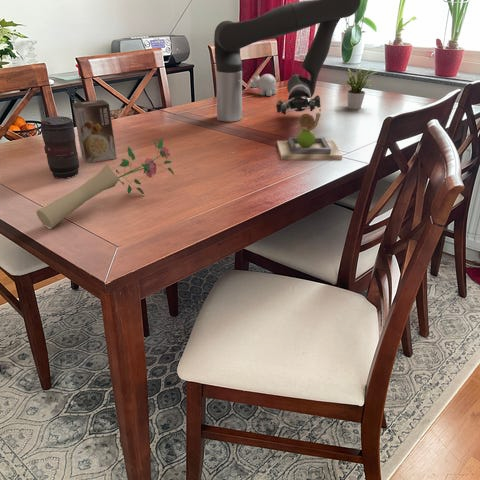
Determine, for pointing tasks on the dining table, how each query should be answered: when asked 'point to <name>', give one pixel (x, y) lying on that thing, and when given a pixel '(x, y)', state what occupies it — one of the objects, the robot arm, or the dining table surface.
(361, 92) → the house plant
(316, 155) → the board
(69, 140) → the camera lens
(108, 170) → the flower vase
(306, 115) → the snail figurine
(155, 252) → the dining table surface
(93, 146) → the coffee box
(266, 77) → the round bodied animal figurine
